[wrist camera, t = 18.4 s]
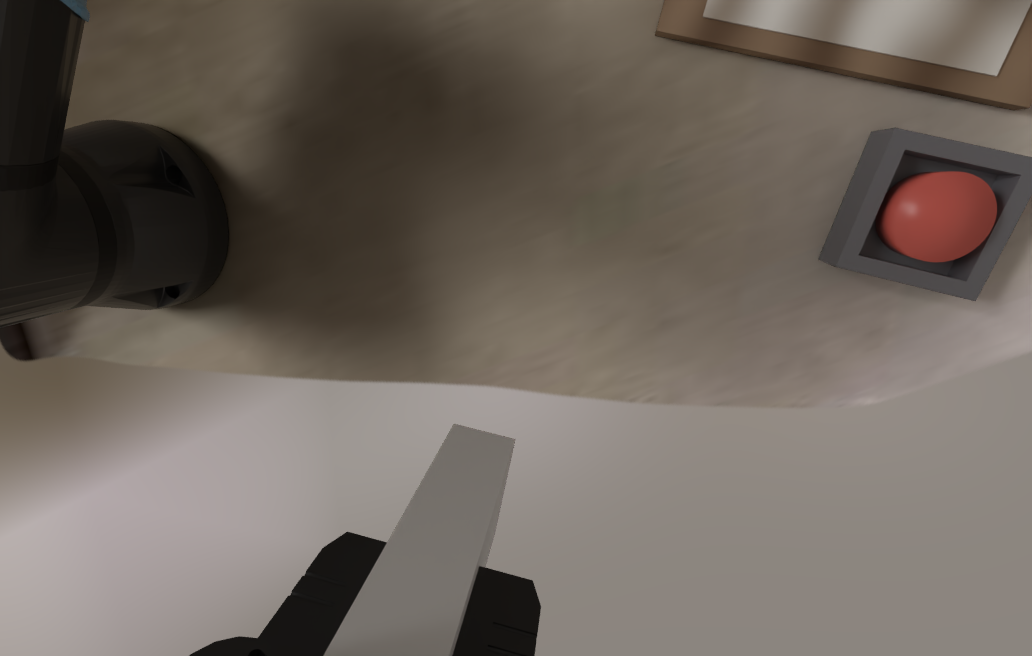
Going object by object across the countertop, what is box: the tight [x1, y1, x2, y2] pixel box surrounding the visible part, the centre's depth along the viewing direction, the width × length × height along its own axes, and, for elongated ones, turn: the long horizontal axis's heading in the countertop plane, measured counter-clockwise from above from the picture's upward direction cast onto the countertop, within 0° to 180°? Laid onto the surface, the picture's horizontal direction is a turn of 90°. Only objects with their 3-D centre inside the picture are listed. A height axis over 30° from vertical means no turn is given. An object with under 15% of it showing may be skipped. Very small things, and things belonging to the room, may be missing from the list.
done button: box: [875, 171, 997, 262], centre depth 32 cm, size 5×5×2 cm
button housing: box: [819, 128, 1032, 301], centre depth 33 cm, size 8×8×3 cm
